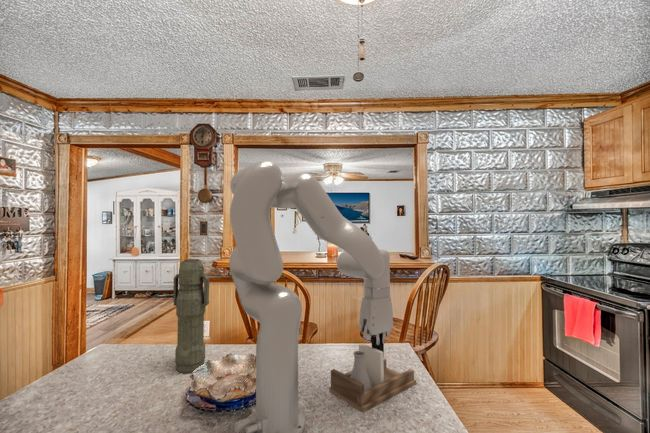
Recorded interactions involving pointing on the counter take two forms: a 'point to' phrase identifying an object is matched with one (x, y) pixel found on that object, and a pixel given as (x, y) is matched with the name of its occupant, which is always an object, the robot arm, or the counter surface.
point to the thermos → (190, 314)
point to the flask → (360, 370)
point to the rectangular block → (373, 364)
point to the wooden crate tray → (368, 399)
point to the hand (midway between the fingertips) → (377, 356)
